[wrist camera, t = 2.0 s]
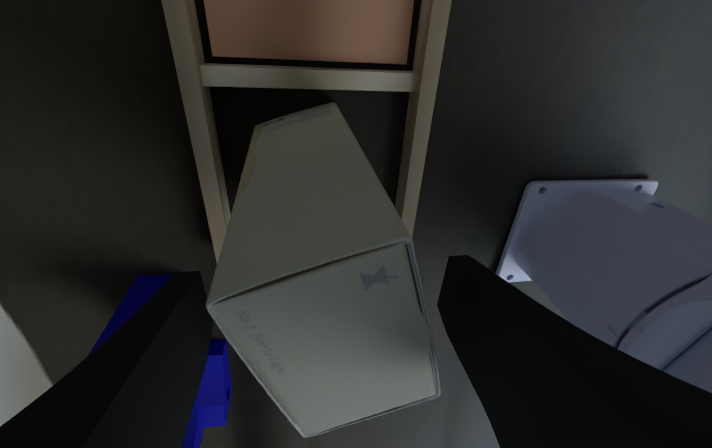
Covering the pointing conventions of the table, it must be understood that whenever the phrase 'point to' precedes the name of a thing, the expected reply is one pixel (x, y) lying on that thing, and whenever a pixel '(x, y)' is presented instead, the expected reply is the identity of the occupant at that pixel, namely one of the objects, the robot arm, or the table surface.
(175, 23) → the pink framed panel
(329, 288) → the skincare box
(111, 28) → the table surface
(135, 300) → the cable clip
